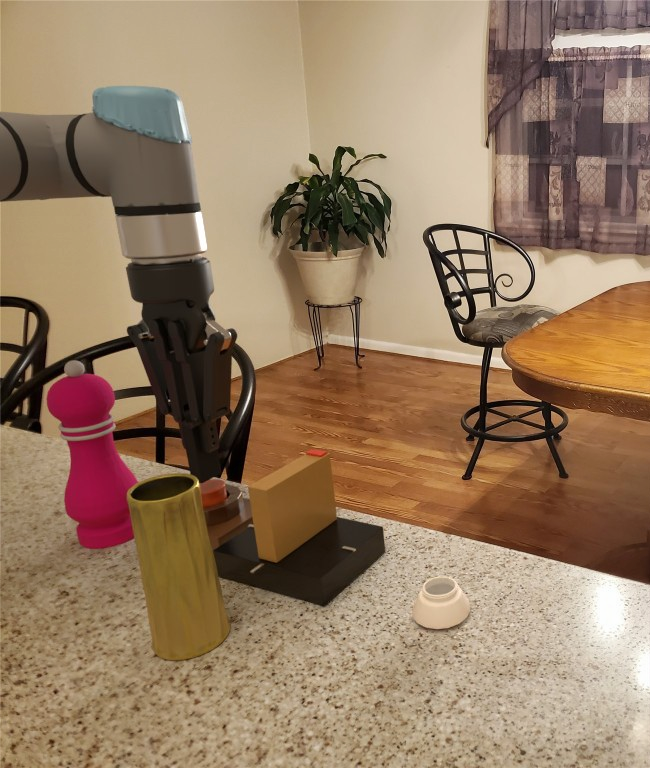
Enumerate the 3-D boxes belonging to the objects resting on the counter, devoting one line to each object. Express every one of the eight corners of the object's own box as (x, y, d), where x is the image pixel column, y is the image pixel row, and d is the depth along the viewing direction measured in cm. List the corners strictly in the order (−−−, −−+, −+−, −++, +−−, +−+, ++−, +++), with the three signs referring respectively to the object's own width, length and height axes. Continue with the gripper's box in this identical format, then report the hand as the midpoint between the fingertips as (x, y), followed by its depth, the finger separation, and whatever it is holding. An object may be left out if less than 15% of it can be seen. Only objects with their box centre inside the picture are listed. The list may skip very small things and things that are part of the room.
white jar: (427, 640, 58) (479, 619, 60) (425, 610, 57) (478, 591, 59) (404, 609, 62) (454, 591, 64) (402, 581, 61) (452, 564, 63)
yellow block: (276, 563, 64) (265, 488, 62) (258, 558, 65) (247, 484, 62) (337, 519, 72) (329, 450, 69) (320, 515, 73) (312, 447, 70)
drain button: (184, 505, 74) (181, 490, 74) (210, 491, 78) (208, 476, 77) (209, 510, 73) (206, 495, 72) (234, 496, 76) (232, 481, 76)
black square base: (313, 617, 61) (309, 587, 60) (203, 586, 66) (198, 557, 65) (394, 544, 72) (392, 518, 71) (295, 522, 78) (292, 497, 77)
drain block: (152, 538, 75) (145, 505, 74) (209, 506, 82) (204, 475, 81) (221, 556, 71) (215, 522, 70) (275, 521, 78) (270, 489, 77)
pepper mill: (58, 544, 74) (13, 367, 68) (117, 514, 80) (80, 349, 74) (106, 557, 71) (63, 373, 65) (163, 524, 78) (128, 354, 72)
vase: (181, 672, 55) (148, 512, 50) (137, 646, 58) (103, 493, 53) (245, 629, 60) (220, 480, 55) (202, 607, 63) (175, 464, 58)
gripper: (246, 255, 68) (277, 472, 75) (152, 252, 73) (190, 455, 80) (185, 265, 61) (225, 502, 69) (86, 261, 66) (134, 482, 74)
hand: (206, 477), depth 74 cm, fingers closed
